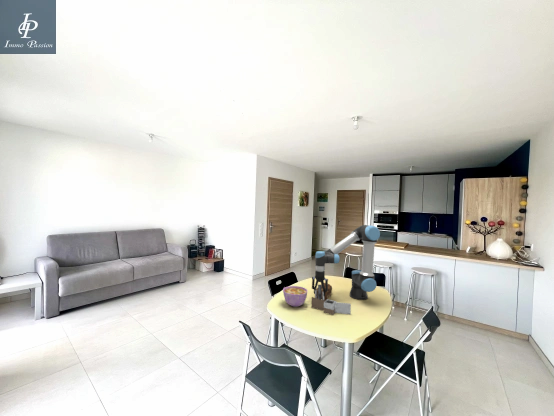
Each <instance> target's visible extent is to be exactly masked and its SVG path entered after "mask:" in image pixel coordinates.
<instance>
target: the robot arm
mask: <svg viewBox="0 0 554 416" xmlns="http://www.w3.org/2000/svg"><path fill="white" fill-rule="evenodd" d="M380 235H381V232H380V229H379V228H378V227H377V226H374V225H370V224H369V225H367V224H363V225H360V226H358V227H357V228H355V229H354V230H352V231H351V233H350V234H348V235H347V236H346V237H344V238H343V239H342V240H340V241H339V242H337V243H336V244H334V245H333V246H331V247H330V248H328V249H327V250H323V251H321V250H319V251H316V252H315V275H314V276H312V277H311V279H312V280H311V289H312V290H313V293H314V294H313V295H314V298H317V290H316V289H317V288H318V285H319V283H320V285H321V284H322V288H323V292H322V299H321V300H324V296H325V295H326V292H327V291H328V284H329V283H328V282H329V279H328V278H326V277H325V276H326V275H325V269H326V268H325V266H326V264H339V263H340V260H341V259H340V255H339V254H340V253H341V252H342V251H344V250H345V249H347V248H348V247H349V246H351V245H352V244H354V243H355V242H357V241H360V240H361V242H362V243H363V244H362V245H363V247H362V257H361V258H362V259H361V270H359V269H357V270H356V269H355V270H352V271H351V288H350V290H349V297H351V298H353V299H355V300H361V301H362V300H363V301H364V300H368V293H371V292H373V291H375V290H376V288H377V281H376V280H375V274H374V273H373V272H374V270H373V269H374V258H375V245H376V244H377V243H378V240H379V238H380V237H381V236H380ZM324 283H325V286H324Z"/></svg>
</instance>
